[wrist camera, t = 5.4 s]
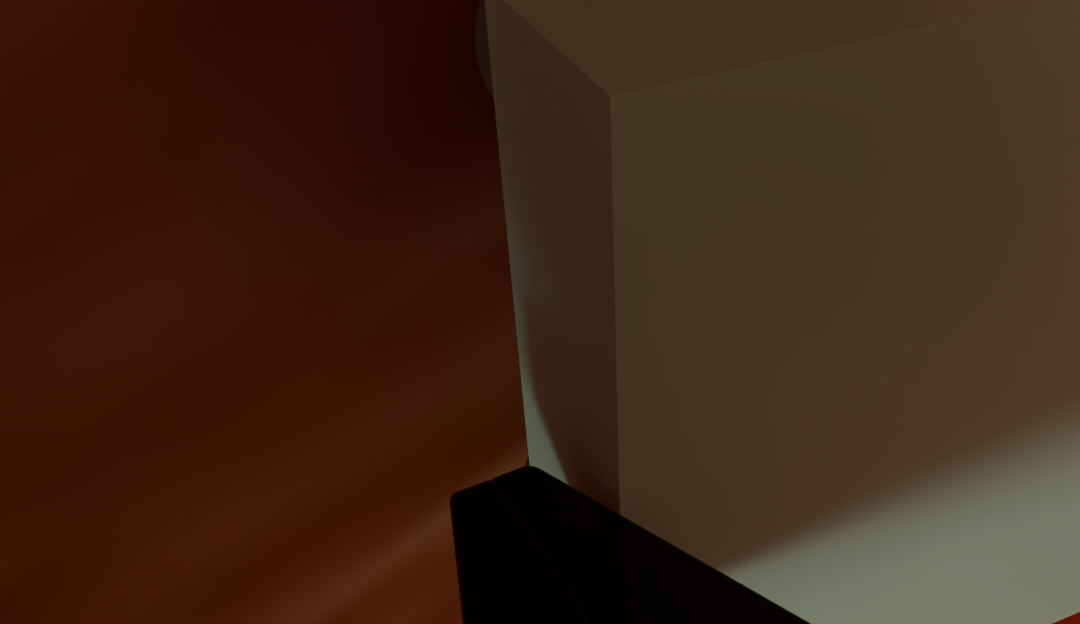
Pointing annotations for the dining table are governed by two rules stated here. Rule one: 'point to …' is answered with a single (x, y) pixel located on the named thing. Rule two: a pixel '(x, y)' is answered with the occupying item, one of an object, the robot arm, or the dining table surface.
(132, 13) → the dining table surface
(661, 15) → the sage green box
